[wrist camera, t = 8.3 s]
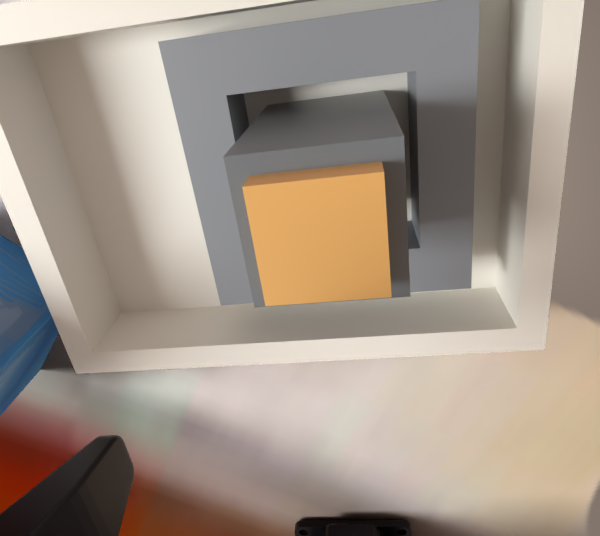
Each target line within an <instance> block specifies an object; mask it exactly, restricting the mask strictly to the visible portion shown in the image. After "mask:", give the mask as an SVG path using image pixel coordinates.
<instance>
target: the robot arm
mask: <svg viewBox="0 0 600 536" xmlns="http://www.w3.org/2000/svg"><path fill="white" fill-rule="evenodd" d="M133 477H134V467H133V463H132V461H131V458H130V456H129V453H128V451H127V448H126V446H125V443H124V441H123V439H122V438H121V437H120V436H118V435H109V436H99V437H97V438H96V439H94V440H93V441H92V442H90V443H89V444H88V445H87V446H85V447H84V448H83V449H82V450H80V451H79V452H78V453H77V454H75V455H74V456H73V457H72V458H70V459H69V460H68V461H67V462H65V463H64V464H63V465H62V466H60V467H59V468H58V469H57V470H55V471H54V472H53V473H51V474H50V475H49V476H48V477H46V478H45V479H44V480H43V481H41V482H40V483H39V484H38V485H36V486H35V487H34V488H33V489H31V490H30V491H29V492H28V493H26V494H25V495H24V496H23V497H21V498H20V499H19V500H18V501H16V502H15V503H14V504H13V505H11V506H10V507H9V508H8V509H6V510H5V511H4V512H2V513H1V514H0V536H118V534H119V531H120V527H121V523H122V519H123V515H124V512H125V508H126V504H127V500H128V496H129V493H130V489H131V485H132V481H133ZM295 536H411V527H410V523H409V522H408V521H405V520H302V521H298V522H297V523H296V525H295Z"/></svg>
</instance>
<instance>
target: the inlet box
mask: <svg viewBox="0 0 600 536" xmlns="http://www.w3.org/2000/svg"><path fill="white" fill-rule="evenodd" d="M584 1H585V0H25V1H19V2H13V3H7V4H0V195H1V197H2V200H3V202H4V205H5V207H6V209H7V212H8V214H9V216H10V219H11V221H12V223H13V226H14V228H15V231H16V233H17V235H18V238H19V240H20V242H21V245H22V247H23V249H24V252H25V254H26V256H27V259H28V261H29V264H30V266H31V268H32V271H33V273H34V275H35V278H36V280H37V282H38V285H39V287H40V290H41V292H42V294H43V297H44V299H45V301H46V304H47V306H48V308H49V311H50V313H51V316H52V318H53V320H54V323H55V325H56V327H57V330H58V332H59V334H60V337H61V339H62V341H63V344H64V346H65V349H66V351H67V353H68V356H69V358H70V360H71V363H72V365H73V367H74V370H75V372H76V374H83V373H103V372H122V371H142V370H161V369H181V368H200V367H220V366H240V365H259V364H279V363H298V362H318V361H337V360H357V359H377V358H396V357H416V356H435V355H455V354H474V353H494V352H513V351H533V350H545V343H546V335H547V326H548V317H549V308H550V299H551V291H552V282H553V273H554V264H555V255H556V247H557V238H558V229H559V220H560V211H561V202H562V194H563V185H564V176H565V168H566V158H567V149H568V141H569V133H570V124H571V115H572V106H573V97H574V88H575V80H576V70H577V62H578V53H579V44H580V35H581V27H582V18H583V10H584ZM379 90H384V93H385V95H386V97H387V99H388V101H389V104H390V106H391V108H392V110H393V112H394V115H395V117H396V119H397V121H398V124H399V126H400V128H401V130H402V132H403V135H404V146H405V172H406V197H407V222H408V248H409V273H410V297H398V298H384V299H370V300H356V301H342V302H328V303H313V304H299V305H285V306H271V307H257V308H254V303H253V298H252V294H251V289H250V284H249V279H248V274H247V269H246V265H245V260H244V255H243V250H242V245H241V240H240V236H239V231H238V226H237V221H236V216H235V211H234V207H233V202H232V197H231V192H230V187H229V182H228V178H227V173H226V168H225V163H224V158H223V156H224V155H225V154H226V153H227V152H228V150H229V149H230V148H231V147H232V146H233V145H234V144H235V142H236V141H237V140H238V139H239V138H240V137H241V135H242V134H243V133H244V132H245V131H246V130H247V129H248V127H249V126H250V125H251V124H252V123H253V122H254V120H255V119H256V118H257V117H258V116H259V115H260V113H261V112H262V111H263V110H264V109H265V108H266V107H267V105H271V104H278V103H286V102H294V101H302V100H309V99H317V98H325V97H333V96H341V95H348V94H356V93H364V92H372V91H379Z"/></svg>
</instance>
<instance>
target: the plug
mask: <svg viewBox="0 0 600 536" xmlns="http://www.w3.org/2000/svg"><path fill="white" fill-rule="evenodd" d="M223 158H224V163H225V168H226V173H227V178H228V182H229V187H230V192H231V197H232V202H233V207H234V211H235V216H236V221H237V226H238V231H239V236H240V240H241V245H242V250H243V255H244V260H245V265H246V269H247V274H248V279H249V284H250V289H251V294H252V298H253V303H254V308H257V307H271V306H285V305H299V304H313V303H328V302H342V301H356V300H370V299H384V298H398V297H410V273H409V248H408V222H407V197H406V172H405V146H404V135H403V132H402V130H401V128H400V126H399V124H398V121H397V119H396V117H395V115H394V112H393V110H392V108H391V106H390V104H389V101H388V99H387V97H386V95H385V93H384V90H379V91H372V92H364V93H356V94H348V95H341V96H333V97H325V98H317V99H309V100H302V101H294V102H286V103H278V104H271V105H267V107H266V108H265V109H264V110H263V111H262V112H261V113H260V115H259V116H258V117H257V118H256V119H255V120H254V122H253V123H252V124H251V125H250V126H249V127H248V129H247V130H246V131H245V132H244V133H243V134H242V135H241V137H240V138H239V139H238V140H237V141H236V142H235V144H234V145H233V146H232V147H231V148H230V149H229V150H228V152H227V153H226V154H225V155H224V156H223Z"/></svg>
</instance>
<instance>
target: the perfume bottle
mask: <svg viewBox="0 0 600 536" xmlns="http://www.w3.org/2000/svg"><path fill="white" fill-rule="evenodd" d="M58 334H59V332H58V330H57V327H56V325H55V323H54V320H53V318H52V316H51V313H50V311H49V308H48V306H47V304H46V301H45V299H44V297H43V294H42V292H41V290H40V287H39V285H38V282H37V280H36V278H35V275H34V273H33V271H32V268H31V266H30V264H29V261H28V259H27V256H26V254H25V252H24V249H23V248H22V247H20V246H19V245H17V244H15V243H13V242H11V241H10V240H8V239H6V238H4V237H3V236H1V235H0V416H1V414H2V413H3V412H4V411H5V410H6V409H7V408H8V406H9V405H10V404H11V403H12V402H13V401H14V399H15V398H16V397H17V396H18V395H19V394H20V392H21V391H22V390H23V389H24V388H25V387H26V386H27V384H28V383H29V382H30V381H31V380H32V379H33V377H34V376H35V375H36V374H37V373H38V372H39V370H40V369H41V367H42V365H43V363H44V361H45V359H46V357H47V355H48V353H49V351H50V350H51V348H52V346H53V344H54V342H55V340H56V338H57V336H58Z"/></svg>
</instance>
